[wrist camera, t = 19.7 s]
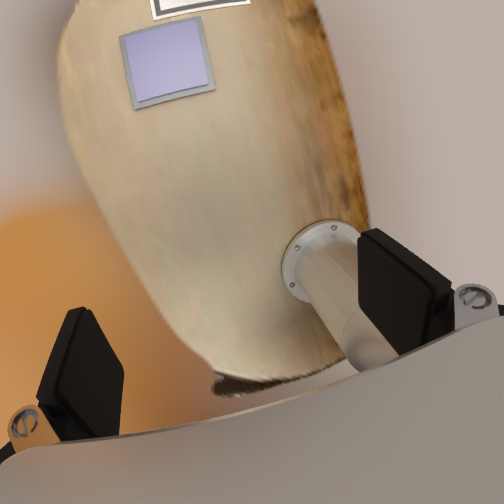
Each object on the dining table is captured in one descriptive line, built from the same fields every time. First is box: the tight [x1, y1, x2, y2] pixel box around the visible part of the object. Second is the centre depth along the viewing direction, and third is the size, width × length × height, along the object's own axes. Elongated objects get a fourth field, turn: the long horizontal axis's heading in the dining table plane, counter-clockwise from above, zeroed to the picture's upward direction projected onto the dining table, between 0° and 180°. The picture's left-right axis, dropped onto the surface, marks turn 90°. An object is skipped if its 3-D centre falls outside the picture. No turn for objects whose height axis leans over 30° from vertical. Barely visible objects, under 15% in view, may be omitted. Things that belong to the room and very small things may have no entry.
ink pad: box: [119, 16, 216, 110], centre depth 29 cm, size 9×9×2 cm
